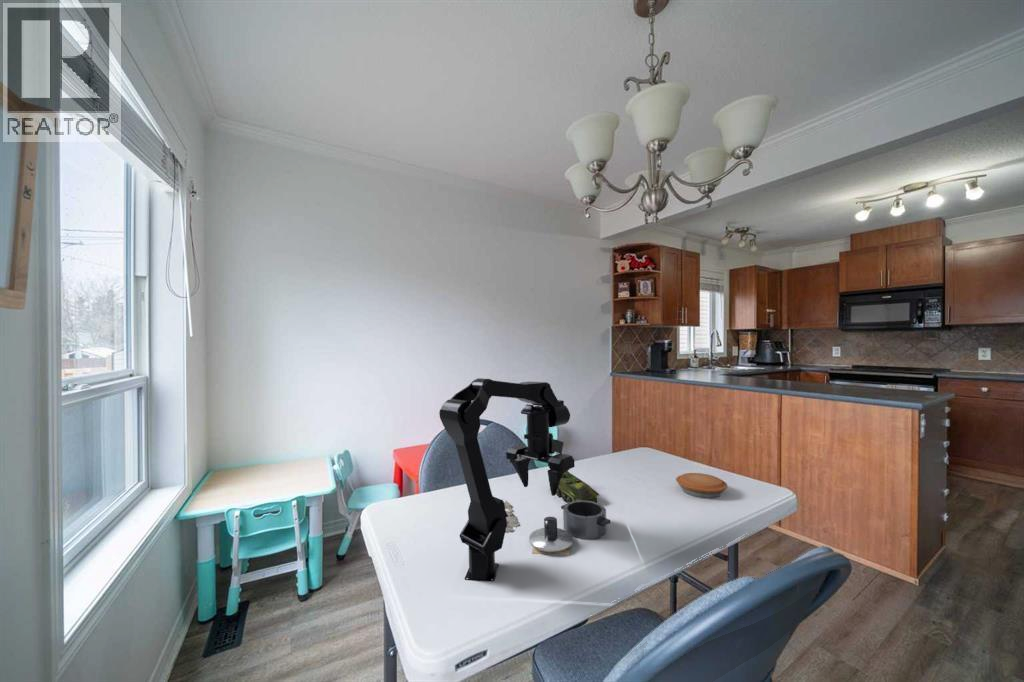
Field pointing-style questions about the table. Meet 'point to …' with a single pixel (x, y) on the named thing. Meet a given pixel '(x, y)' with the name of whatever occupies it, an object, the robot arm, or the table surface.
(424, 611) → the table surface
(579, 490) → the toy vehicle
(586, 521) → the pot
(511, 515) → the stone fragment
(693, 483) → the pie
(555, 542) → the lid
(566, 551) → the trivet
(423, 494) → the table surface
